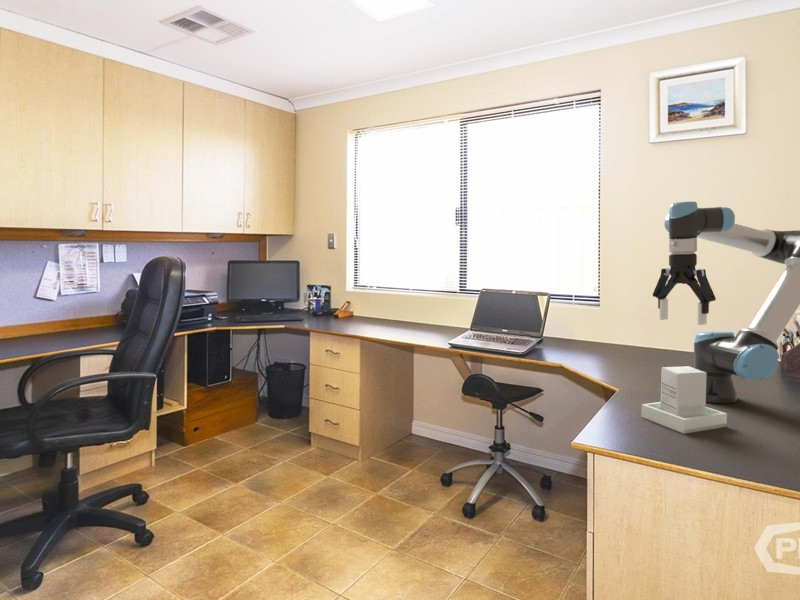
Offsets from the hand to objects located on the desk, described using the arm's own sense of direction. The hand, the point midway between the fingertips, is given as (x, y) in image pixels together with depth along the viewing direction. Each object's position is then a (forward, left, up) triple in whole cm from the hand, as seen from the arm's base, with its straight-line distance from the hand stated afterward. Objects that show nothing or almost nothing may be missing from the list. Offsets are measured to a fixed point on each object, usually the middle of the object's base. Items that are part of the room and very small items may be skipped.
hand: (682, 322), depth 165 cm
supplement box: (+5, +6, -28) cm, 29 cm away
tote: (+5, +6, -29) cm, 30 cm away
